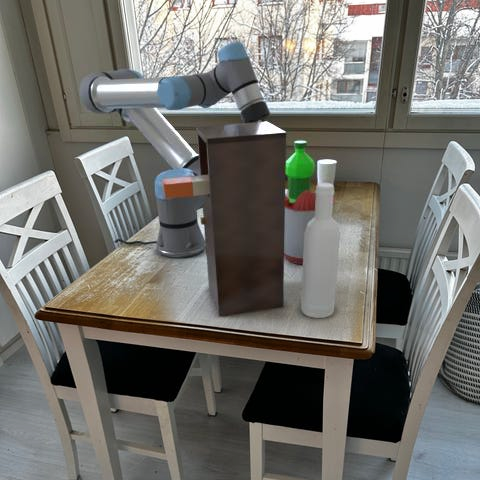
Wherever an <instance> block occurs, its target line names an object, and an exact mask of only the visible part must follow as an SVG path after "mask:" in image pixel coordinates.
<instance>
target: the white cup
mask: <svg viewBox="0 0 480 480" xmlns="http://www.w3.org/2000/svg"><path fill="white" fill-rule="evenodd" d="M337 163H338V162H337V160H335V159H329V158H327V159H319V160H317V167H316V168H317V173H316V174H317V185H318V184H320V183H330V184H332V185H333V186H335V185H334V183H335V177H336V171H337Z"/></svg>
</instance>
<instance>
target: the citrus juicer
mask: <svg viewBox="0 0 480 480" xmlns="http://www.w3.org/2000/svg"><path fill="white" fill-rule="evenodd" d="M315 203H316V194H315V192H311V190H310V191H308V190H305V191H304V192H303V193H302V194H301V195H300V196H299V197H298V198H297V199H296V201H295V202H293V203H292V202H290V199H289V198H288V197H287V196H285V235H284V259H286V261H289V262H290V263H294V264H297V265H303V253H304V233H305V230H306V227H307V225H308V222H310V221H311V220H312V219H313V218H314V217H315ZM335 203H336V200H335V199H334V198H333V207H332V218H333V219H334V207H335V206H334V205H335Z"/></svg>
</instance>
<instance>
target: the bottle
mask: <svg viewBox="0 0 480 480" xmlns="http://www.w3.org/2000/svg"><path fill="white" fill-rule="evenodd" d="M314 193H315V194H316V203H315V217H314V218H313V219H312V220H311V221H310V222H308V225H307V227H306V230H305V233H304V253H303V264H302V276H301V277H302V278H301V279H302V280H301V282H302V284H301V298H300V299H301V300H300V305H301V306H300V308H301V309H300V310H301V312H302V313H303V314H304V315H305V316H307V317H310V318H314V319H323V318H328V317H330V316H331V315H333V314H334V312H335V304H336V289H337V278H338V277H337V276H338V266H339V255H340V241H341V230H340V226H339V223H338V222H337V221H336V220H335V219H334V217H333V218H332V207H333V199H334V195H335V185H332V184H330V183H320V184H318V183H317V184H316V187H315V191H314ZM333 208H334V207H333Z"/></svg>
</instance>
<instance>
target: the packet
mask: <svg viewBox="0 0 480 480" xmlns="http://www.w3.org/2000/svg"><path fill="white" fill-rule="evenodd" d="M162 183H163V192H164V195H165V198H166V199H167V198H177V197H187V196H198V195H208V194H210V188H209V175H200V176H190V177H179V178H169V179H162Z"/></svg>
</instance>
